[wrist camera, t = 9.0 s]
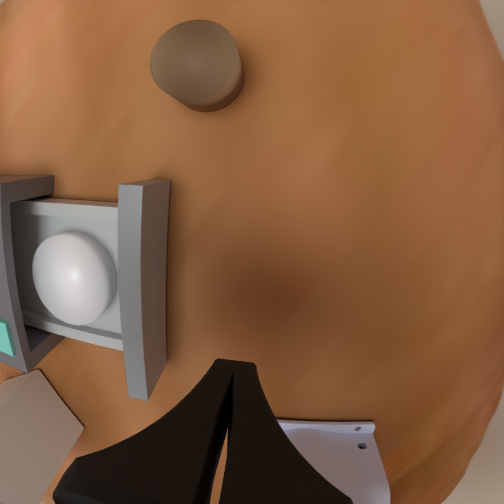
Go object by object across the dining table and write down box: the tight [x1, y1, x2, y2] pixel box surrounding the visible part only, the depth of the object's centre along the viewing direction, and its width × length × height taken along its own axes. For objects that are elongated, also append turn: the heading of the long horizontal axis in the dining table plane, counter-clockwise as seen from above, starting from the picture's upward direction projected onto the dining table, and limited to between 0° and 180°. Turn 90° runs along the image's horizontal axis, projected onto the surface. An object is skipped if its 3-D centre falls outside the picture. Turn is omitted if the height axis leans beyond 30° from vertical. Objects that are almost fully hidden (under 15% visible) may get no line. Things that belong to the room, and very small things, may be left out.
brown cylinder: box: [150, 20, 244, 112], centre depth 14 cm, size 4×4×4 cm
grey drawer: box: [10, 179, 170, 401], centre depth 17 cm, size 14×12×4 cm
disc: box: [32, 230, 117, 325], centre depth 17 cm, size 6×6×2 cm
